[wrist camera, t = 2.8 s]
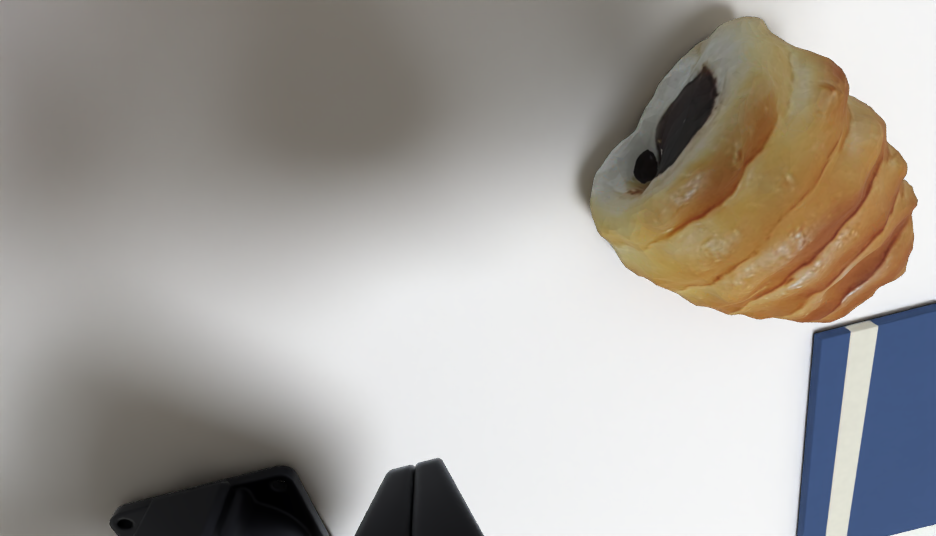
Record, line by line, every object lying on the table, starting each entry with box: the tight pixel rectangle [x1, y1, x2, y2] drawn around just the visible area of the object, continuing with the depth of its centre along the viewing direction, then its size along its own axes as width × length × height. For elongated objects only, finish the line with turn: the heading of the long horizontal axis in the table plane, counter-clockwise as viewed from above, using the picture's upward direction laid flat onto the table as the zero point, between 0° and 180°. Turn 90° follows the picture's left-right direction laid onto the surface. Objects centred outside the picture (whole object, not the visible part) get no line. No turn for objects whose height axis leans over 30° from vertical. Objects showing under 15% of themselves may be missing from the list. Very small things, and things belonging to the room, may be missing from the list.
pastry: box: [590, 17, 918, 323], centre depth 14 cm, size 9×7×4 cm
